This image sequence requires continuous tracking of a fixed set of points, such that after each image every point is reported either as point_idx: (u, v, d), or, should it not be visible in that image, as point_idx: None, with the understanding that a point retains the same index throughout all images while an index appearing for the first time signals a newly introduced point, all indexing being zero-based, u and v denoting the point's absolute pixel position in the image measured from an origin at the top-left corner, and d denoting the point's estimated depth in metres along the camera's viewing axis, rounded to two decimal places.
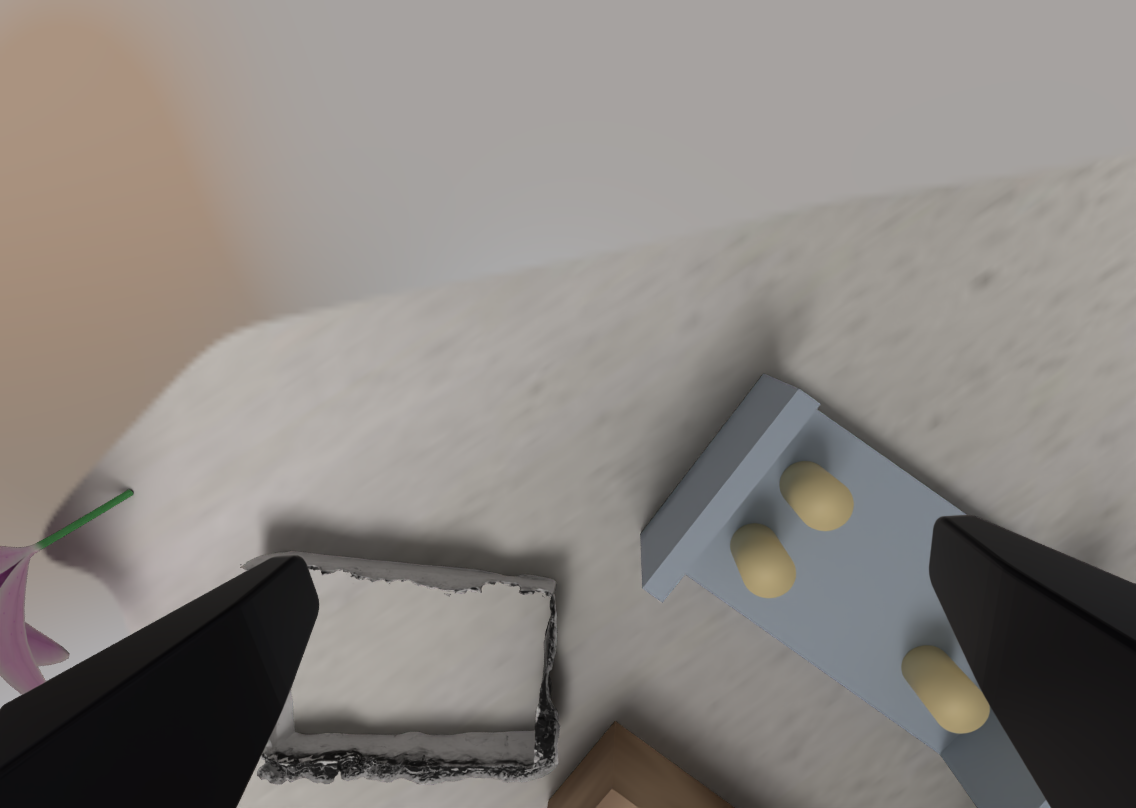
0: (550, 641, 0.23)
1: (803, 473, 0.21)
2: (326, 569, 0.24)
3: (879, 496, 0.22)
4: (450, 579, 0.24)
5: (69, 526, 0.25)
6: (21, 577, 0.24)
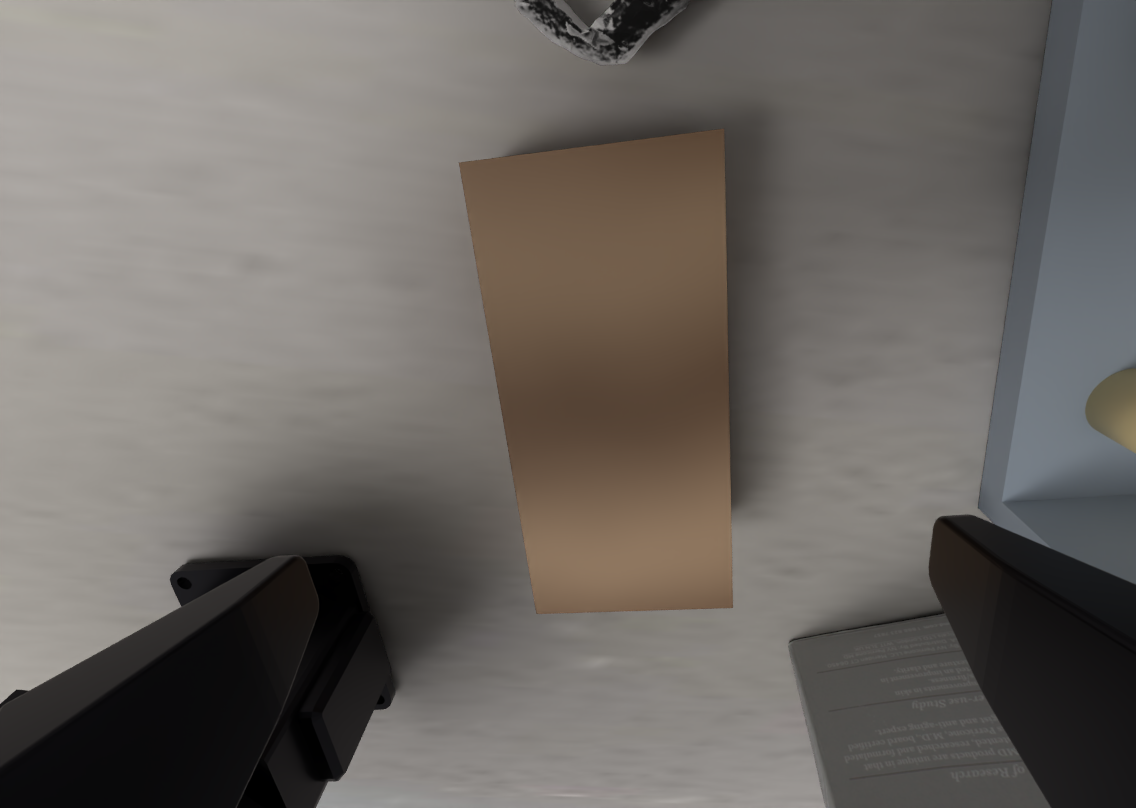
0: None
1: None
2: None
3: None
4: None
5: None
6: None
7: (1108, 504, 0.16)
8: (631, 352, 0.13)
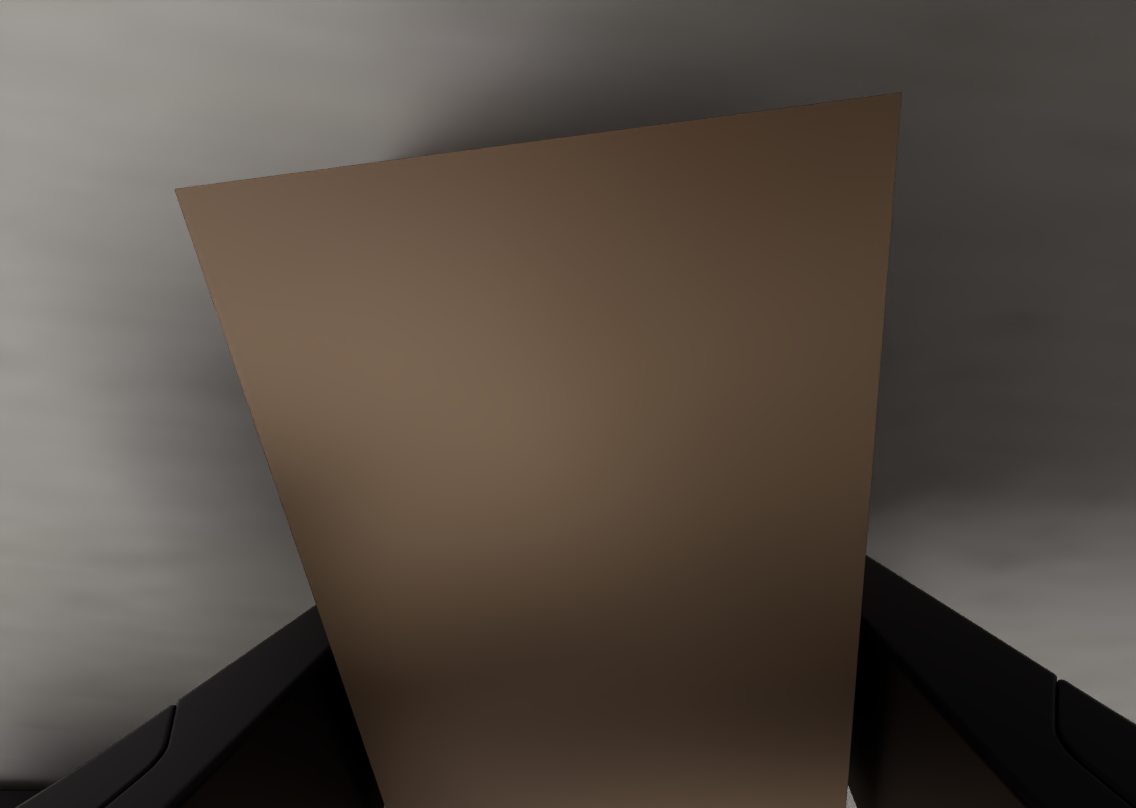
0: None
1: None
2: None
3: None
4: None
5: None
6: None
7: None
8: (634, 618, 0.06)
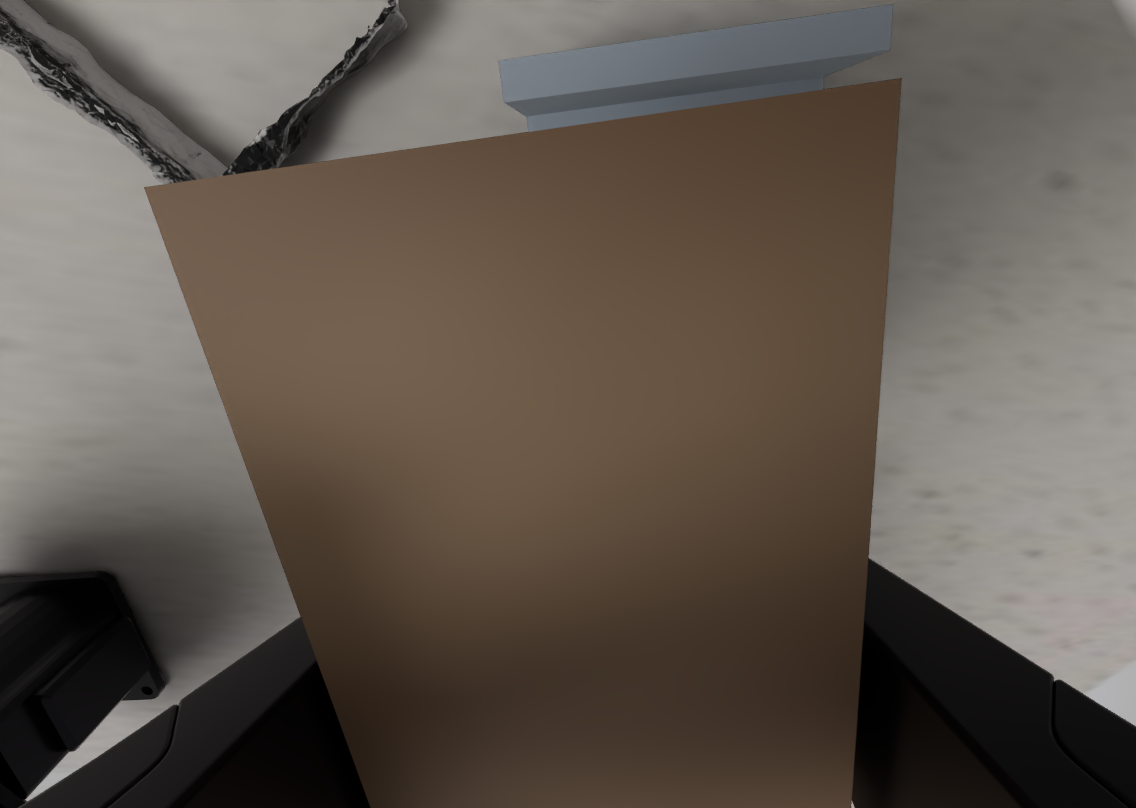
0: (346, 59, 0.16)
1: None
2: None
3: None
4: None
5: None
6: None
7: None
8: (627, 629, 0.05)
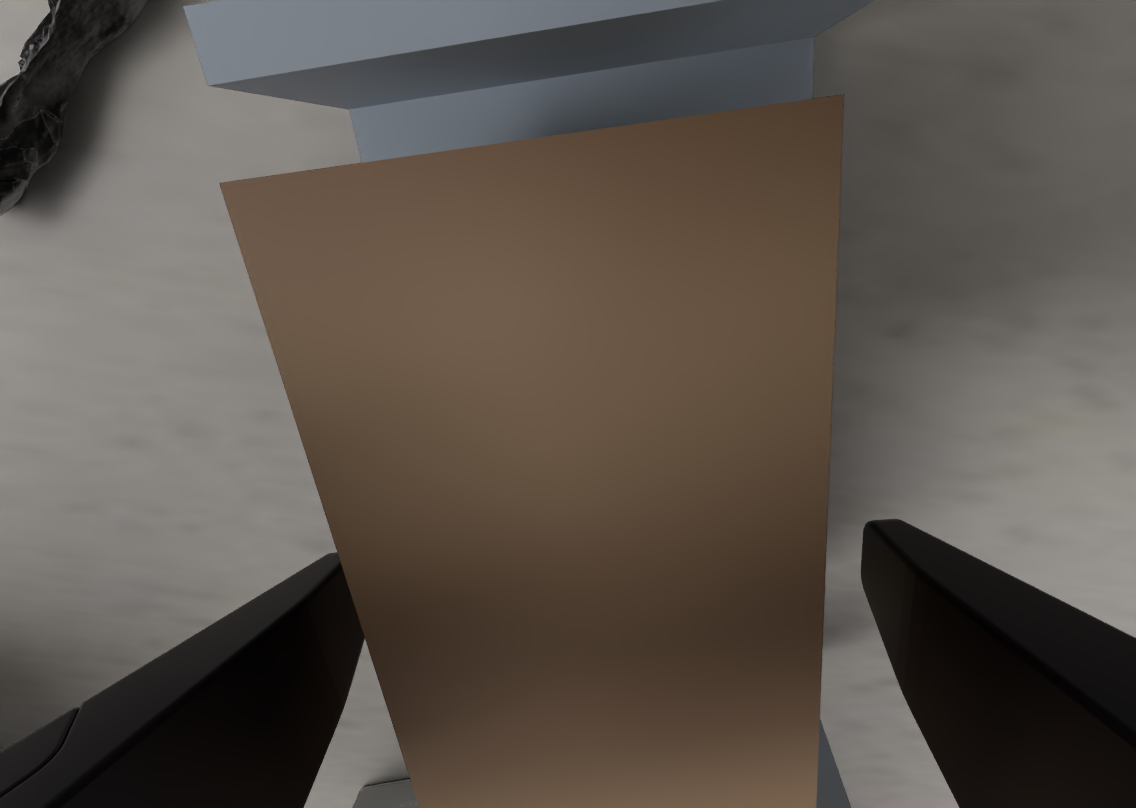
0: (52, 9, 0.10)
1: None
2: None
3: None
4: None
5: None
6: None
7: None
8: (623, 567, 0.06)
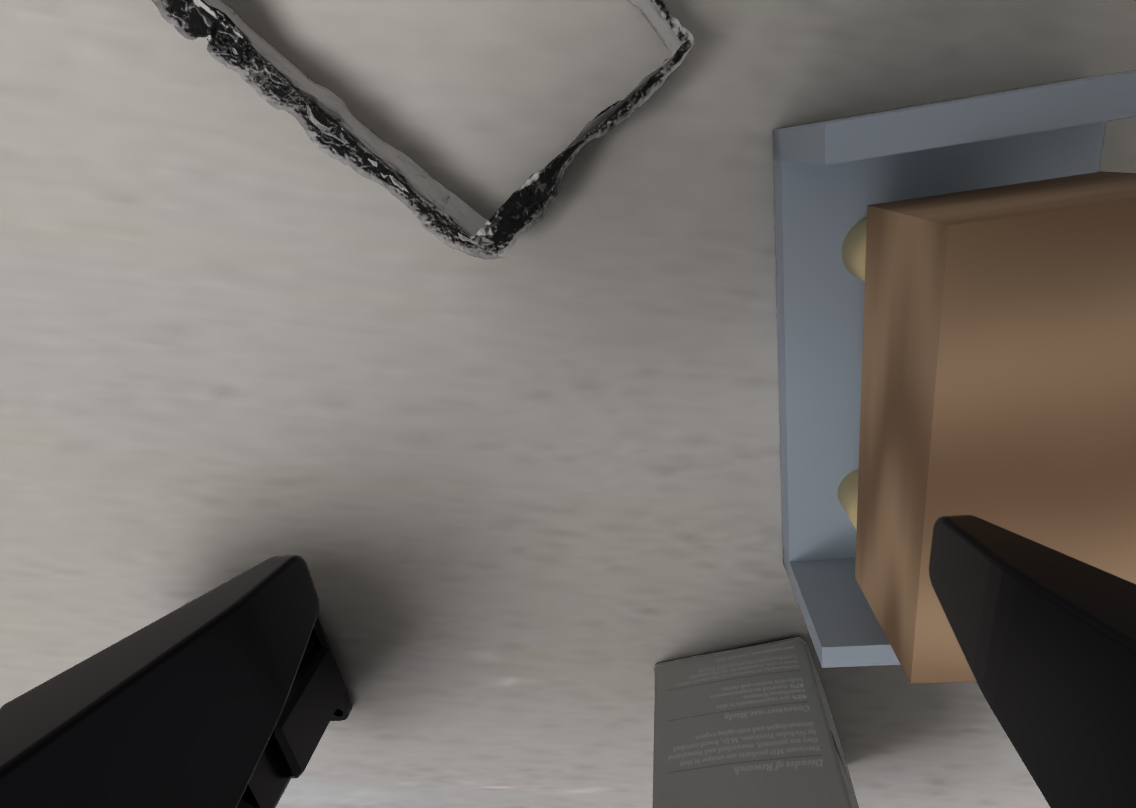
0: (632, 99, 0.15)
1: None
2: None
3: None
4: None
5: None
6: None
7: None
8: (1095, 417, 0.12)
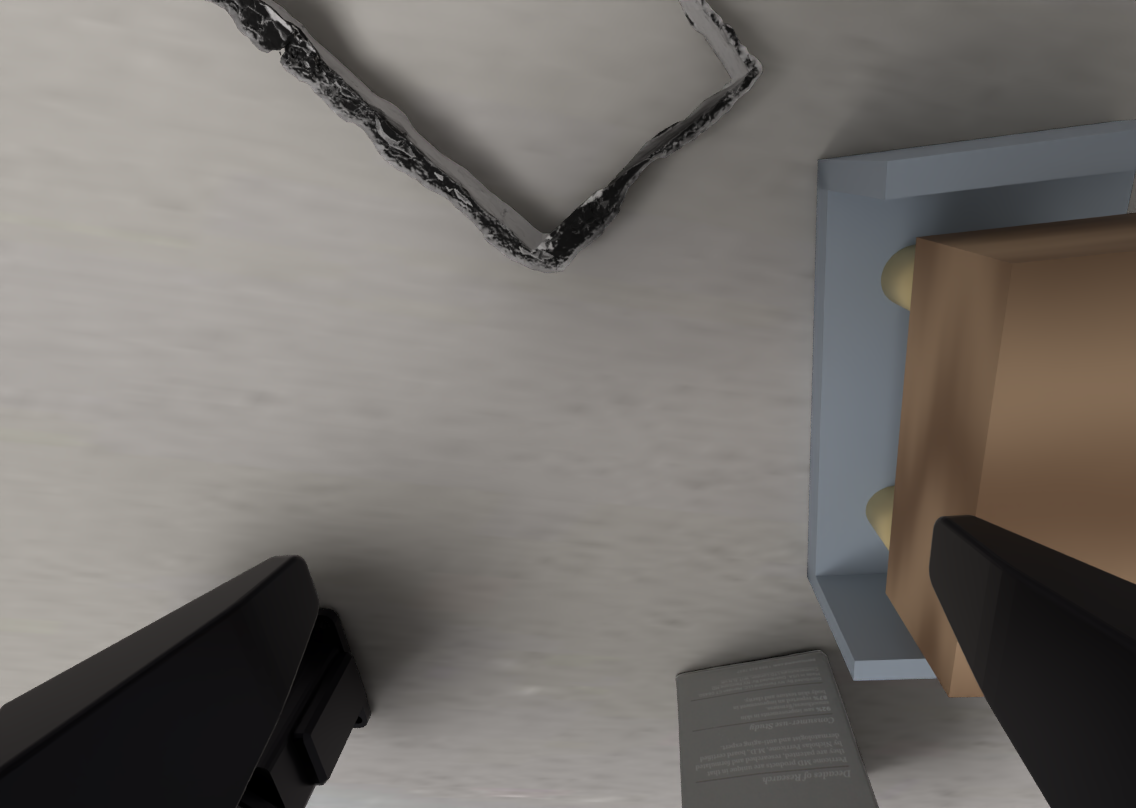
0: (699, 121, 0.16)
1: None
2: None
3: None
4: None
5: None
6: None
7: None
8: None
